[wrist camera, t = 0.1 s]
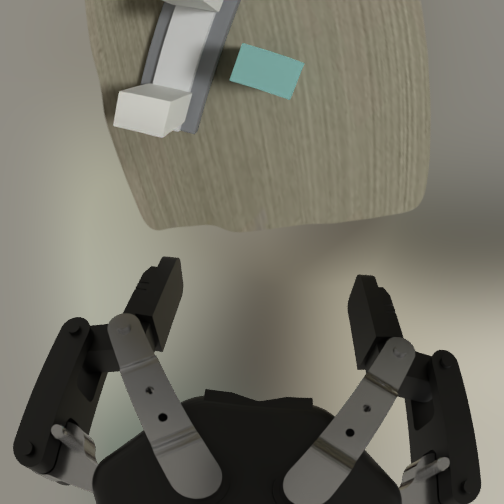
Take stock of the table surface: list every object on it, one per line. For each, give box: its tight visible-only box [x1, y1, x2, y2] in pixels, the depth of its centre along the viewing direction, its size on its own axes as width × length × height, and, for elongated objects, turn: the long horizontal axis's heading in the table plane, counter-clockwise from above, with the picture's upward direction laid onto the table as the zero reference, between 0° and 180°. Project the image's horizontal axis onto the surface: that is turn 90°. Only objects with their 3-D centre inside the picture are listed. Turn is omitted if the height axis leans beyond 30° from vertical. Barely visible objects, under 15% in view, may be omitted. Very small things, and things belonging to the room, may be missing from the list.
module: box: [229, 43, 304, 100], centre depth 28 cm, size 4×6×10 cm, turn 72°
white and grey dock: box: [113, 0, 241, 138], centre depth 27 cm, size 22×9×10 cm, turn 162°
